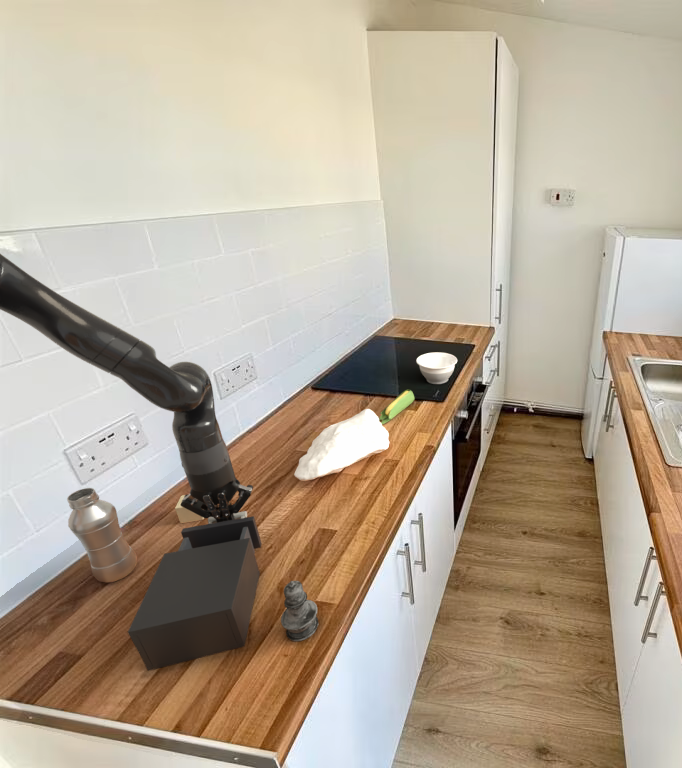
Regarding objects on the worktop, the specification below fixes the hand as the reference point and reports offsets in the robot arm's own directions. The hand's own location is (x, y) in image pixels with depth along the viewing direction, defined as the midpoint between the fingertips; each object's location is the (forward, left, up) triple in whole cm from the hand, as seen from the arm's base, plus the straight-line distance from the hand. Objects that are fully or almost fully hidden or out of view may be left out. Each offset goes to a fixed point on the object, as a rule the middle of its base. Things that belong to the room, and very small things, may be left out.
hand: (228, 527), depth 92 cm
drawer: (0, -7, -4) cm, 8 cm away
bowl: (+58, +72, -5) cm, 93 cm away
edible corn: (+40, +50, -5) cm, 64 cm away
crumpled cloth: (+24, +27, -5) cm, 36 cm away
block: (-10, +12, -5) cm, 16 cm away
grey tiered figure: (+16, -25, -5) cm, 30 cm away
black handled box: (0, -18, -5) cm, 19 cm away
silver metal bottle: (-19, -2, -5) cm, 20 cm away
